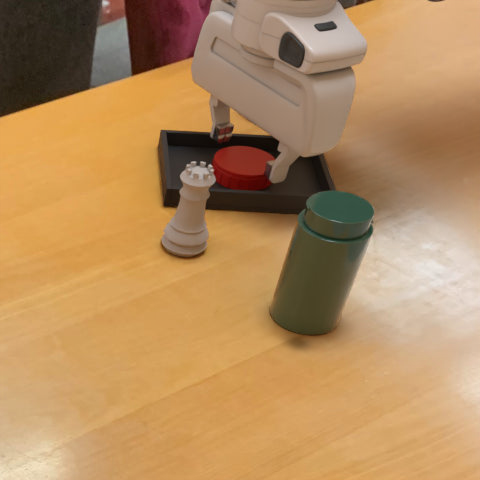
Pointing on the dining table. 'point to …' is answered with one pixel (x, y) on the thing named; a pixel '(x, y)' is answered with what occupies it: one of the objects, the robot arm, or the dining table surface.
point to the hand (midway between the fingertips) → (245, 159)
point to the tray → (266, 200)
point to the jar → (322, 262)
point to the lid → (241, 168)
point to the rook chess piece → (190, 213)
